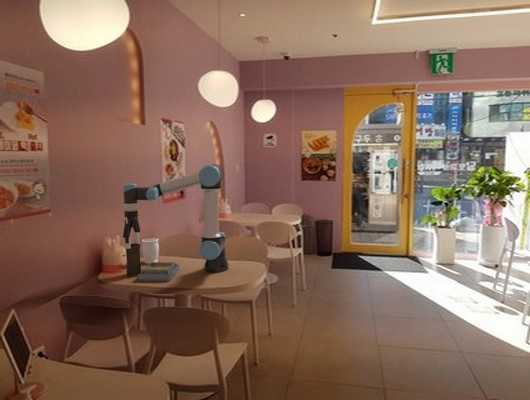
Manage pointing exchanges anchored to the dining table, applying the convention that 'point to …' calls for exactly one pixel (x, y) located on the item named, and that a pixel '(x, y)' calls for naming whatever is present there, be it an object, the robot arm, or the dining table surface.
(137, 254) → the container
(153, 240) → the jar
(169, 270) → the grey tray
